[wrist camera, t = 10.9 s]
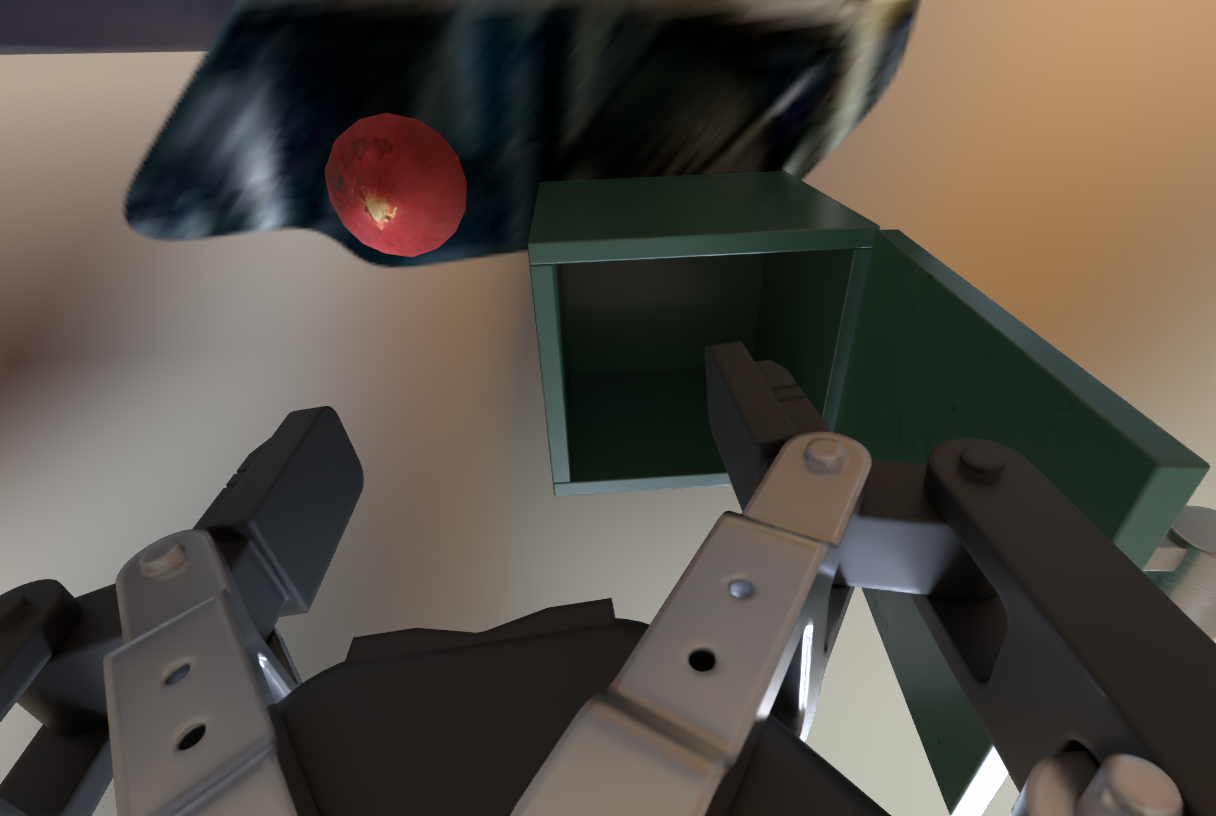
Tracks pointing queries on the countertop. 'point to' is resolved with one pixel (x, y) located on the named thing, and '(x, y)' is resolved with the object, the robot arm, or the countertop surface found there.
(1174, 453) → the lid
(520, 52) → the countertop surface
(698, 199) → the box
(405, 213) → the onion
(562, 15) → the countertop surface
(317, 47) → the countertop surface
